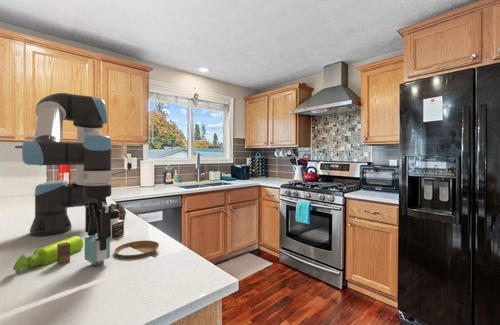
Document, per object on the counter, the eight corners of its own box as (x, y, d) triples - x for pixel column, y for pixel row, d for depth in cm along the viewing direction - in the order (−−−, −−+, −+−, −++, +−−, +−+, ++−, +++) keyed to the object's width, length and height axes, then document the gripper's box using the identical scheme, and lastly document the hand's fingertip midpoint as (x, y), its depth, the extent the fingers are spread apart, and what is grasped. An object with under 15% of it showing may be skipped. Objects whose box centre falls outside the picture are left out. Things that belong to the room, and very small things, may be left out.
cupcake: (129, 221, 134) (129, 203, 134) (111, 225, 126) (111, 205, 126) (120, 218, 139) (120, 201, 139) (102, 222, 131) (102, 203, 131)
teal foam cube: (84, 259, 76) (84, 238, 76) (102, 254, 81) (102, 234, 81) (91, 263, 73) (91, 241, 73) (109, 257, 78) (109, 237, 77)
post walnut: (57, 265, 78) (57, 244, 78) (67, 263, 80) (67, 241, 80) (60, 268, 76) (60, 245, 76) (70, 265, 79) (70, 243, 78)
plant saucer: (113, 266, 79) (113, 258, 79) (115, 250, 92) (115, 243, 92) (161, 258, 86) (161, 250, 86) (156, 244, 99) (156, 238, 99)
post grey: (91, 267, 77) (91, 245, 77) (100, 264, 79) (100, 243, 79) (94, 270, 75) (94, 247, 75) (103, 267, 77) (103, 245, 77)
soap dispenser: (87, 240, 89) (30, 263, 69) (77, 254, 90) (18, 281, 70) (76, 230, 90) (16, 250, 70) (66, 244, 91) (4, 268, 71)
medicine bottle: (112, 241, 102) (112, 212, 102) (97, 239, 103) (97, 211, 103) (124, 235, 109) (124, 209, 109) (110, 234, 110) (110, 208, 110)
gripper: (72, 183, 79) (73, 254, 79) (96, 187, 68) (96, 269, 69) (98, 181, 85) (98, 247, 85) (123, 185, 74) (123, 261, 75)
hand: (97, 257), depth 77 cm, fingers closed on teal foam cube, 5 cm apart
